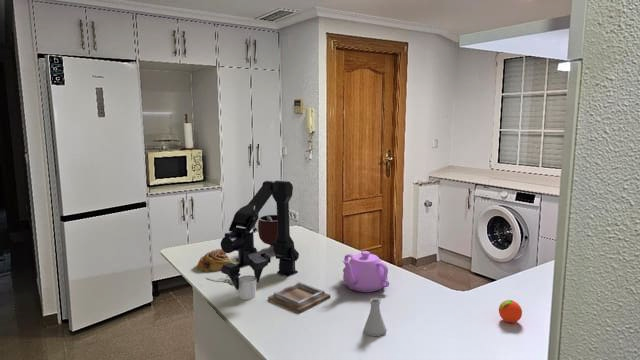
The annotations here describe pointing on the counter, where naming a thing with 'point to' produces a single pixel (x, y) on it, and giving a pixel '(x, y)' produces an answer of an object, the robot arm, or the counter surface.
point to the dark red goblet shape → (268, 232)
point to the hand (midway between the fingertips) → (247, 286)
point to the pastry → (213, 261)
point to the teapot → (365, 272)
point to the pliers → (221, 279)
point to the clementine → (510, 311)
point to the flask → (375, 320)
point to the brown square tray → (299, 297)
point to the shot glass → (247, 287)
